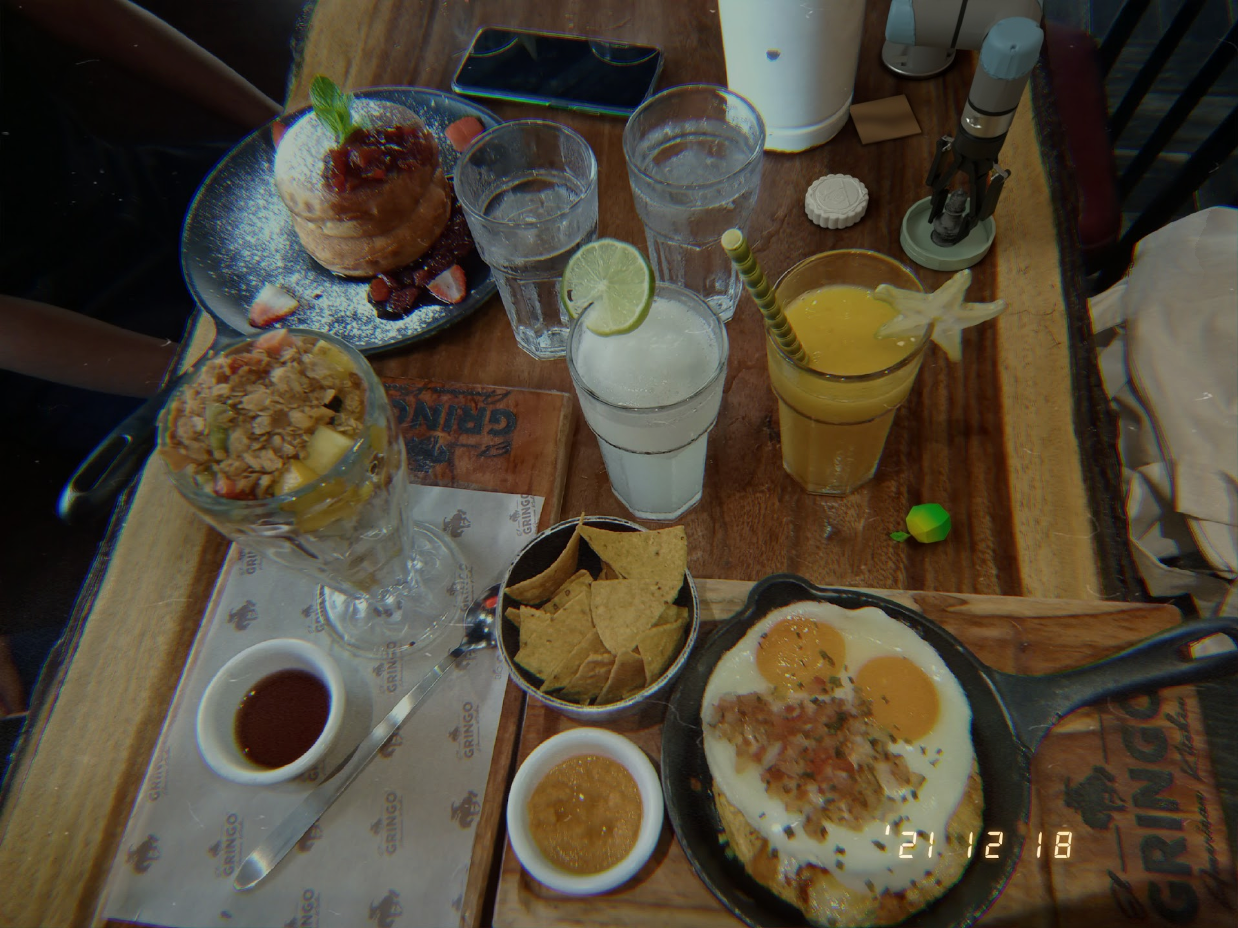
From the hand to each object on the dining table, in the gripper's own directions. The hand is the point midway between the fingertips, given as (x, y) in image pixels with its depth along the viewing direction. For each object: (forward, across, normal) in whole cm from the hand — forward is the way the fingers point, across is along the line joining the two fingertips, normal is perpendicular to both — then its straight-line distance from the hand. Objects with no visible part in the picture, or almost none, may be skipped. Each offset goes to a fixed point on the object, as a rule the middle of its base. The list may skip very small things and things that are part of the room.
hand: (947, 228), depth 137 cm
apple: (+3, +38, -48) cm, 61 cm away
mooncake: (+3, -20, -9) cm, 22 cm away
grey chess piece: (+2, 0, 0) cm, 2 cm away
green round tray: (+2, 0, 0) cm, 2 cm away
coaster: (+2, -30, +15) cm, 34 cm away
